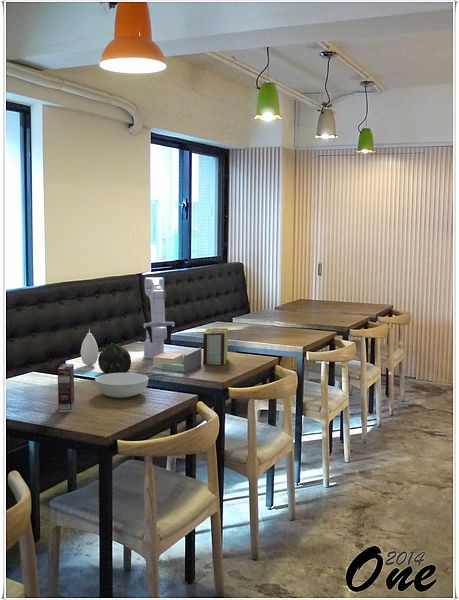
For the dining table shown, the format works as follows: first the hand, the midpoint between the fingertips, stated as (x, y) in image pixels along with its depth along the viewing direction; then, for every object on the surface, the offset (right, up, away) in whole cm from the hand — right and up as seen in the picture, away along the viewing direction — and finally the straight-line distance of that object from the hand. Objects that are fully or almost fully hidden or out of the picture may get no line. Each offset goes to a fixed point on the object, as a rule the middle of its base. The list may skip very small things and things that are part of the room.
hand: (159, 341), depth 313 cm
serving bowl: (-9, -18, -51) cm, 55 cm away
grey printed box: (+12, -12, -2) cm, 17 cm away
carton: (+4, -12, +1) cm, 12 cm away
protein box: (+26, -11, +12) cm, 31 cm away
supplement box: (-26, -20, -72) cm, 79 cm away
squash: (-18, -13, -17) cm, 28 cm away
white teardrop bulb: (-32, -11, -3) cm, 34 cm away
